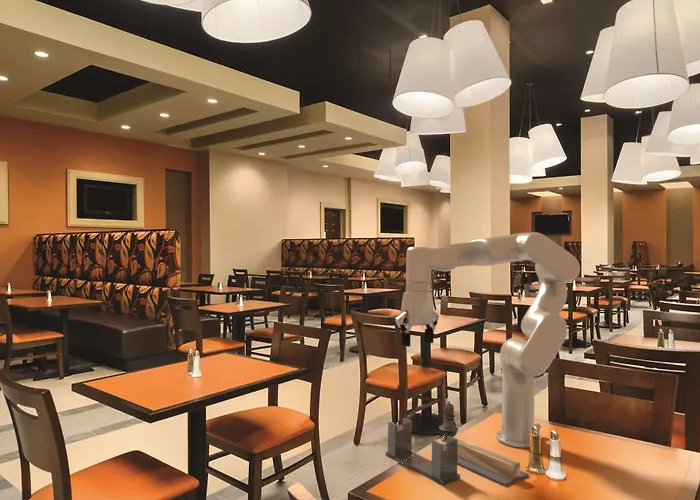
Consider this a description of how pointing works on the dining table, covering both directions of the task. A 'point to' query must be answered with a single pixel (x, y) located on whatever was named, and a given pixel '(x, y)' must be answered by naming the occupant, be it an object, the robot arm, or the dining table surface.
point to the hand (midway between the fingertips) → (417, 344)
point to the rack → (437, 469)
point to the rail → (488, 459)
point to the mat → (489, 472)
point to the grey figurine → (448, 422)
